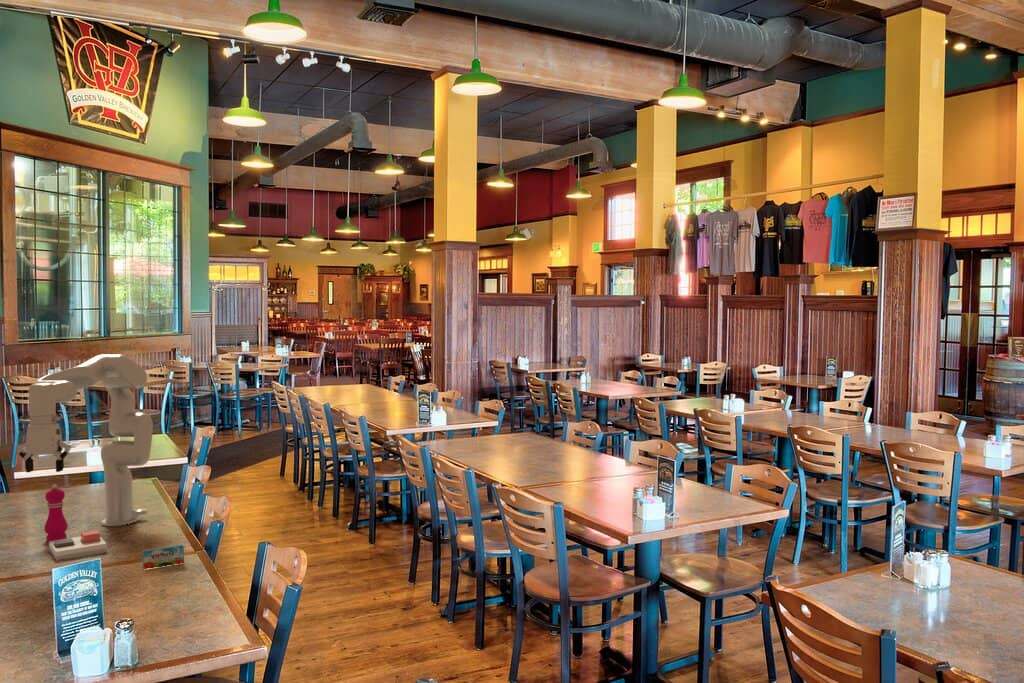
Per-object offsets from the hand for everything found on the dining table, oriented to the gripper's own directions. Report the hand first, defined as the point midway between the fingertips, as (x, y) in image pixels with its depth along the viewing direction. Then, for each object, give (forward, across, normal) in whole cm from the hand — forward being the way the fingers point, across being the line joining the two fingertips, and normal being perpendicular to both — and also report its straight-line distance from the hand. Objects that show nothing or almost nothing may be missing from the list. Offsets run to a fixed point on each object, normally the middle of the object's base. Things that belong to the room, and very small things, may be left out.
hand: (44, 471), depth 268 cm
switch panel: (+28, -8, -4) cm, 30 cm away
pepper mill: (+28, +6, -18) cm, 34 cm away
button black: (+27, -5, -2) cm, 27 cm away
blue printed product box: (+29, -44, +15) cm, 54 cm away
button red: (+25, -11, -6) cm, 28 cm away
